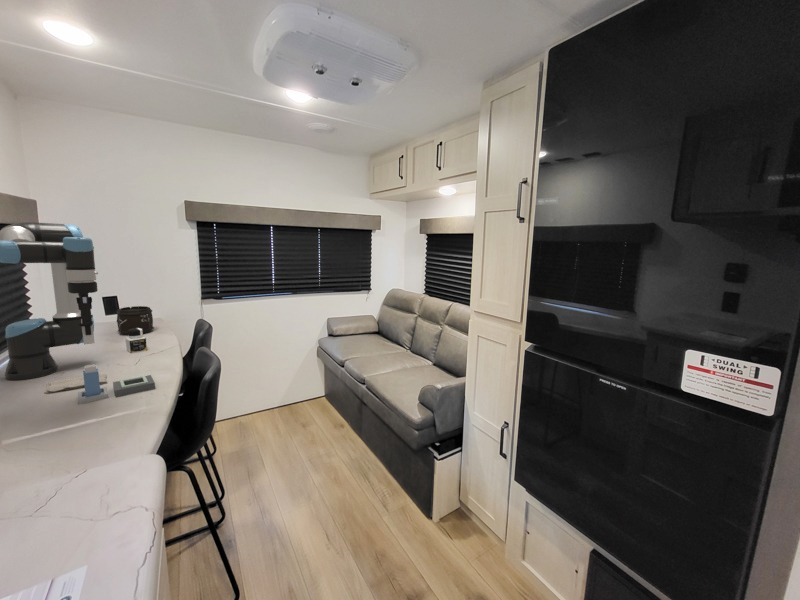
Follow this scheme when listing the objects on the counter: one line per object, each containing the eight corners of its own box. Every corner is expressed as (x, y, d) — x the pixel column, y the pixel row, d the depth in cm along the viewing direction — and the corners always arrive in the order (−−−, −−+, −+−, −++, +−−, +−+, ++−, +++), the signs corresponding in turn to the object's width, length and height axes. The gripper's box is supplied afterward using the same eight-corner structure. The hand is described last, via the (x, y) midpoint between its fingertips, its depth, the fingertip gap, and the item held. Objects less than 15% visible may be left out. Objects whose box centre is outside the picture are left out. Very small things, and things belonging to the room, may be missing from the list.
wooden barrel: (125, 329, 216) (123, 305, 214) (157, 328, 221) (156, 305, 219) (111, 336, 199) (108, 311, 197) (146, 335, 205) (144, 310, 202)
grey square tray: (78, 406, 117) (78, 399, 117) (78, 398, 123) (77, 392, 122) (108, 399, 123) (108, 393, 122) (107, 392, 128) (106, 386, 128)
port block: (116, 399, 123) (115, 389, 123) (113, 390, 130) (112, 380, 130) (155, 390, 132) (154, 381, 131) (151, 382, 139) (150, 373, 138)
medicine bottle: (130, 353, 172) (128, 331, 171) (126, 350, 177) (124, 328, 175) (147, 350, 178) (145, 328, 176) (142, 347, 182) (141, 326, 180)
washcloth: (47, 388, 131) (46, 380, 130) (107, 377, 143) (106, 370, 143) (44, 399, 122) (42, 391, 122) (108, 386, 134) (107, 379, 134)
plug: (86, 400, 120) (82, 368, 118) (85, 396, 123) (82, 365, 121) (101, 397, 123) (97, 366, 121) (100, 393, 125) (97, 363, 124)
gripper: (98, 284, 110) (104, 345, 114) (94, 277, 128) (100, 330, 131) (67, 285, 105) (74, 349, 108) (67, 278, 122) (73, 333, 126)
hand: (88, 339), depth 120 cm, fingers open, 13 cm apart
